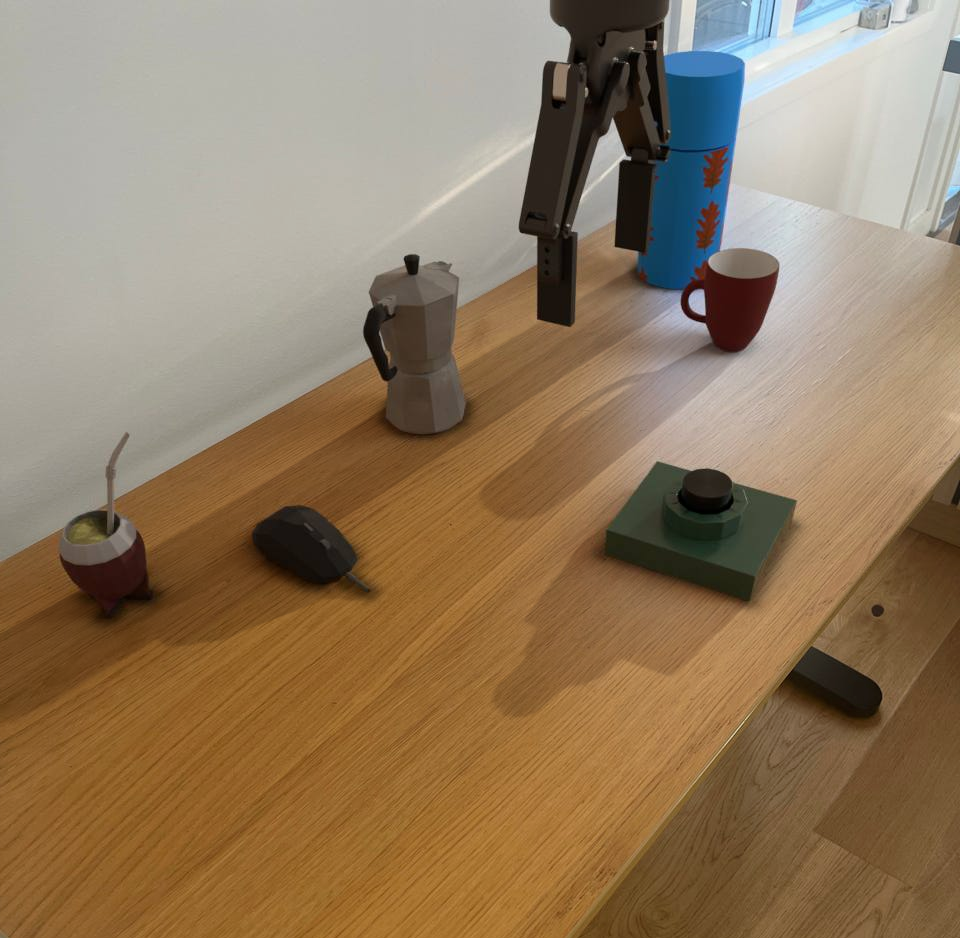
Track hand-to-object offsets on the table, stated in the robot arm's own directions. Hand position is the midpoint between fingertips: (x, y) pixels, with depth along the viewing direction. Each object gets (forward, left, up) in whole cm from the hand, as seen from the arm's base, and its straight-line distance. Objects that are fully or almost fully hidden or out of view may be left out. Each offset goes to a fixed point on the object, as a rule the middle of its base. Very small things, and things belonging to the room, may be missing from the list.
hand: (595, 283), depth 73 cm
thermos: (+13, -56, -25) cm, 63 cm away
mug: (+1, -40, -25) cm, 47 cm away
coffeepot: (+25, -10, -25) cm, 37 cm away
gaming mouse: (+21, +15, -25) cm, 36 cm away
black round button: (-10, -4, -20) cm, 23 cm away
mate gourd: (+34, +27, -25) cm, 50 cm away
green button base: (-10, -4, -25) cm, 27 cm away
